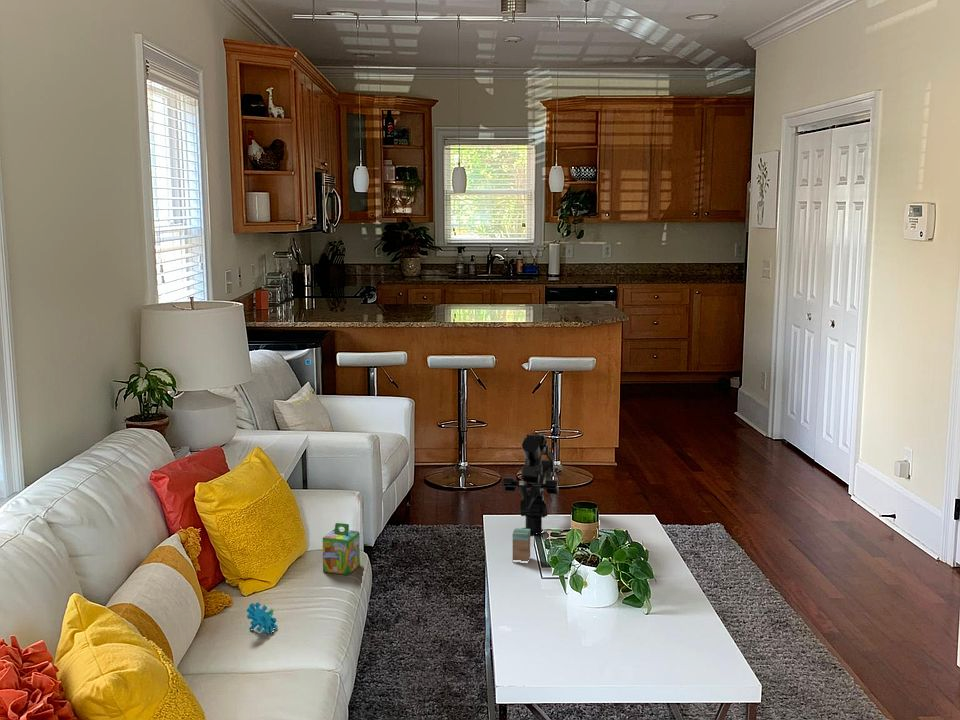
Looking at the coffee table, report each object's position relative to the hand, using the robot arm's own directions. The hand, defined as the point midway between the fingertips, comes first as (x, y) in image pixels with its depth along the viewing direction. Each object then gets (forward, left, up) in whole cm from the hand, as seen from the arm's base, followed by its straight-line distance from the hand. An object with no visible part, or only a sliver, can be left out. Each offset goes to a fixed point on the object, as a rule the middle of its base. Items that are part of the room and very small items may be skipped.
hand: (527, 508), depth 319 cm
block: (+10, -7, -14) cm, 18 cm away
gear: (+27, -93, -14) cm, 98 cm away
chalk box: (-6, -62, -14) cm, 64 cm away
